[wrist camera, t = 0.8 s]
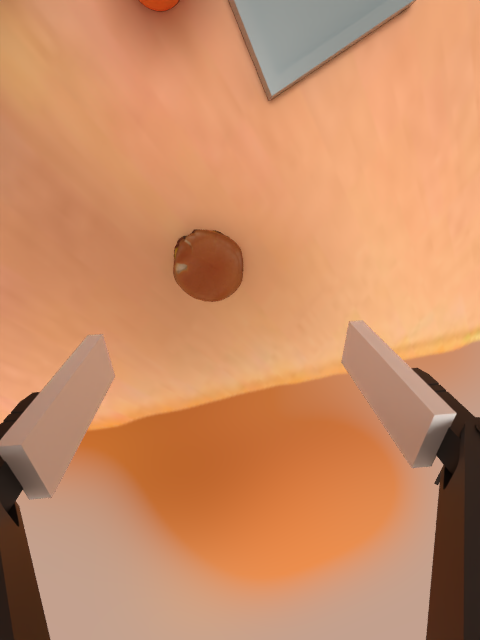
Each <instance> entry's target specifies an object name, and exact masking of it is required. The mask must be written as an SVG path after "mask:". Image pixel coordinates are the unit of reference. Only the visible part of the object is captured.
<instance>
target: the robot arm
mask: <svg viewBox="0 0 480 640" xmlns="http://www.w3.org/2000/svg"><path fill="white" fill-rule="evenodd" d="M341 363H342V364H343V366H344V367H345V369H346V370H347V372H348V373H349V375H350V376H351V378H352V379H353V381H354V382H355V384H356V385H357V386H358V388H359V389H360V391H361V392H362V394H363V396H364V397H365V399H366V400H367V402H368V403H369V405H370V406H371V407H372V409H373V411H374V412H375V413H376V415H377V417H378V418H379V420H380V421H381V422H382V424H383V425H384V427H385V429H386V430H387V432H388V433H389V435H390V436H391V438H392V439H393V441H394V442H395V443H396V445H397V447H398V448H399V450H400V451H401V453H402V454H403V456H404V457H405V458H406V460H407V461H408V463H409V465H410V466H411V467H412V468H416V467H428V466H432V464H433V462H434V460H435V458H436V456H437V457H438V458H439V459H440V460H441V462H442V463H443V464H444V465H443V467H442V469H441V471H440V473H439V475H438V477H437V479H436V481H435V484H437V485H438V484H439V482H440V486H439V498H438V509H437V520H436V533H435V544H434V555H433V566H432V579H431V589H430V601H429V612H428V624H427V636H426V640H480V418H479V417H474V416H473V415H472V414H471V413H470V412H469V411H468V410H467V409H466V408H465V407H464V406H462V405H461V404H460V403H459V402H458V401H457V400H456V399H455V398H454V397H453V396H452V395H451V394H449V393H448V392H446V390H445V389H444V388H443V387H442V386H441V385H439V383H438V382H437V381H436V380H434V379H433V378H432V377H431V376H430V375H429V374H427V373H426V372H424V371H422V370H420V369H418V368H410V367H409V366H408V365H407V364H406V363H405V362H404V361H403V360H402V359H401V358H400V357H399V356H398V355H397V354H396V353H395V352H394V351H393V350H392V349H391V348H390V347H389V346H388V345H387V344H386V343H385V342H384V341H383V340H382V339H381V338H380V337H379V336H378V335H377V334H376V333H375V332H374V331H373V330H372V329H371V328H370V327H369V326H368V325H367V324H366V323H365V322H364V321H349V324H348V330H347V335H346V340H345V346H344V351H343V356H342V362H341ZM114 378H115V374H114V370H113V367H112V363H111V360H110V357H109V353H108V350H107V346H106V343H105V340H104V336H103V334H99V335H87V337H86V338H85V339H84V340H83V341H82V343H81V344H80V345H79V346H78V347H77V349H76V350H75V351H74V352H73V353H72V355H71V356H70V357H69V358H68V359H67V361H66V362H65V363H64V364H63V365H62V367H61V368H60V369H59V370H58V371H57V373H56V374H55V375H54V376H53V377H52V379H51V380H50V381H49V382H48V383H47V385H46V386H45V387H44V388H43V389H42V391H41V392H35V393H32V394H31V395H29V396H28V397H26V398H25V399H23V400H22V401H21V402H20V403H19V404H18V405H17V406H16V407H15V408H14V409H13V411H12V412H11V414H9V415H8V416H7V417H6V418H5V420H4V422H3V423H1V424H0V640H50V637H49V632H48V628H47V623H46V619H45V615H44V610H43V606H42V602H41V598H40V593H39V589H38V585H37V581H36V576H35V573H34V568H33V563H32V559H31V555H30V551H29V546H28V542H27V538H26V534H25V529H24V525H23V521H22V516H21V512H20V508H19V505H18V504H17V502H16V499H17V498H18V496H19V495H20V493H21V491H22V490H24V492H25V494H26V495H27V497H28V498H29V499H41V498H52V496H53V494H54V493H55V491H56V489H57V487H58V485H59V483H60V481H61V479H62V477H63V475H64V473H65V471H66V469H67V468H68V466H69V464H70V462H71V460H72V458H73V456H74V454H75V452H76V450H77V448H78V446H79V445H80V443H81V441H82V439H83V437H84V435H85V433H86V431H87V429H88V427H89V425H90V424H91V422H92V420H93V418H94V416H95V414H96V412H97V410H98V408H99V406H100V404H101V403H102V401H103V399H104V397H105V395H106V393H107V391H108V389H109V387H110V385H111V383H112V381H113V380H114Z"/></svg>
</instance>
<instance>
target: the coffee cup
mask: <svg viewBox="0 0 480 640" xmlns="http://www.w3.org/2000/svg"><path fill="white" fill-rule="evenodd" d="M139 1H140V2H141V3H142V4H143V5H145V6H146V7H148V8H149V9H152V10H155V11H166V10H169V9H171V8H172V7H174V6H175V5H176V4H177V3H178V2H179V0H139Z"/></svg>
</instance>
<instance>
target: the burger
mask: <svg viewBox="0 0 480 640" xmlns="http://www.w3.org/2000/svg"><path fill="white" fill-rule="evenodd" d="M242 272H243V258H242V252H241V249H240V248H239V246H238V245H237V244H236V243H235V242H234V241H233V240H232V239H230V238H229V237H227V236H224V235H223V234H222V233H221V232H218V231H210V230H194V231H193V232H192V234H190V235H188V236H183V237H181V238H180V239H179V240H178V242H177V245H176V246H175V250H174V271H173V273H174V278H175V280H176V282H177V283H178V285H179V286H180V287H181V288H182V289H183V290H184V291H185V292H186V293H187V294H189V295H190V296H192V297H194V298H196V299H200V300H203V301H211V302H214V301H220V300H223V299H225V298H227V297H229V296H230V295H231V294H233V293H234V292H235V291H236V290H237V288H238V287H239V286H240V284H241V281H242V275H243V273H242Z"/></svg>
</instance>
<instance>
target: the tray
mask: <svg viewBox="0 0 480 640" xmlns="http://www.w3.org/2000/svg"><path fill="white" fill-rule="evenodd" d="M228 1H229V3H230V6H231V8H232V11H233V13H234V16H235V18H236V20H237V23H238V25H239V28H240V30H241V33H242V35H243V38H244V40H245V43H246V45H247V48H248V50H249V53H250V55H251V58H252V60H253V63H254V65H255V68H256V70H257V73H258V75H259V78H260V80H261V83H262V85H263V88H264V90H265V93H266V95H267V98H268V100H269V101H270V100H271V99H273V98H274V97H276V96H277V95H279V94H280V93H282V92H283V91H285V90H286V89H288V88H289V87H291V86H292V85H294V84H295V83H297V82H298V81H300V80H301V79H303V78H304V77H306V76H307V75H309V74H310V73H312V72H313V71H315V70H316V69H318V68H319V67H321V66H322V65H324V64H325V63H327V62H328V61H329V60H331V59H332V58H334V57H335V56H337V55H338V54H340V53H341V52H343V51H344V50H346V49H347V48H349V47H350V46H352V45H353V44H355V43H356V42H358V41H359V40H361V39H362V38H364V37H365V36H367V35H368V34H370V33H371V32H373V31H374V30H376V29H377V28H379V27H380V26H382V25H383V24H385V23H386V22H388V21H389V20H391V19H392V18H394V17H395V16H396V15H398V14H399V13H401V12H402V11H404V10H405V9H407V8H408V7H410V6H411V5H412V4H413V3H414V2H415V1H416V0H228Z"/></svg>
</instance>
